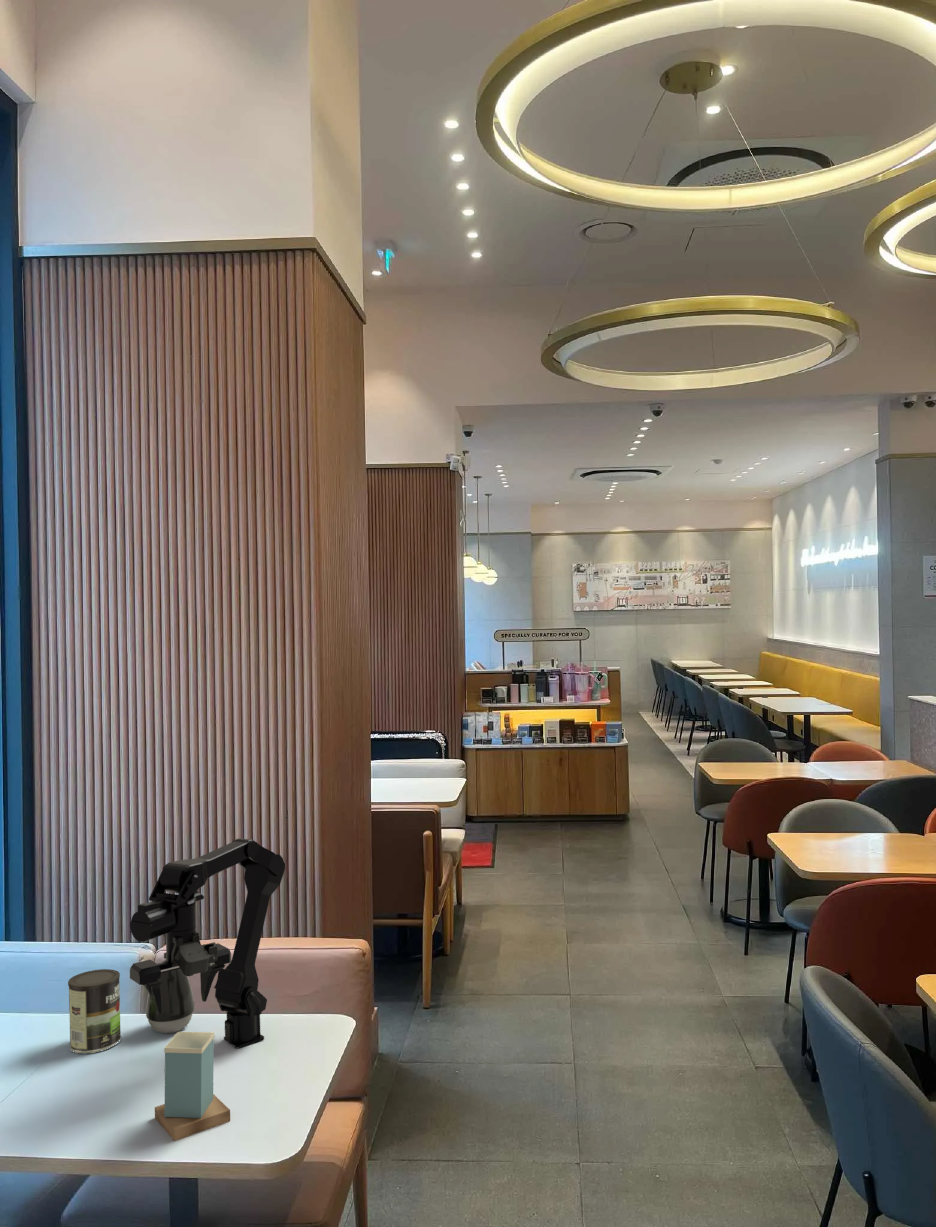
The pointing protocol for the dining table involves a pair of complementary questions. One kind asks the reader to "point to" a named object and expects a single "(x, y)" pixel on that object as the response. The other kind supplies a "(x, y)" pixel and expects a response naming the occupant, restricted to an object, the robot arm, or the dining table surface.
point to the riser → (193, 1120)
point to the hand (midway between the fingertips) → (182, 1007)
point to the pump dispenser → (172, 1003)
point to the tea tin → (189, 1074)
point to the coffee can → (94, 1010)
